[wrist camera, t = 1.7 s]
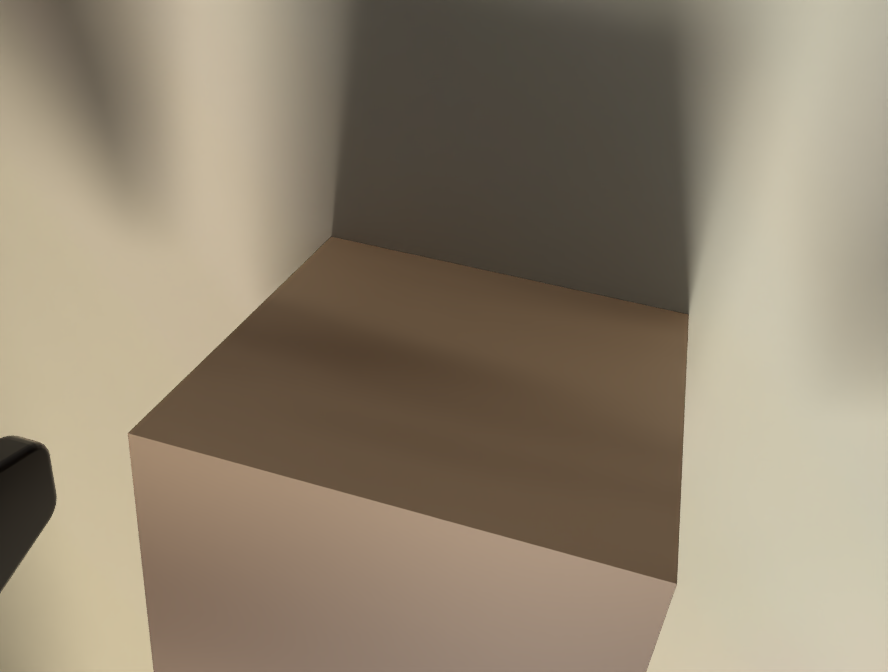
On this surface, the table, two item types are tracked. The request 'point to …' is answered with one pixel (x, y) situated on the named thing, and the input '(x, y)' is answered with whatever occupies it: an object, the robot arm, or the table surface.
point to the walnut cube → (417, 477)
